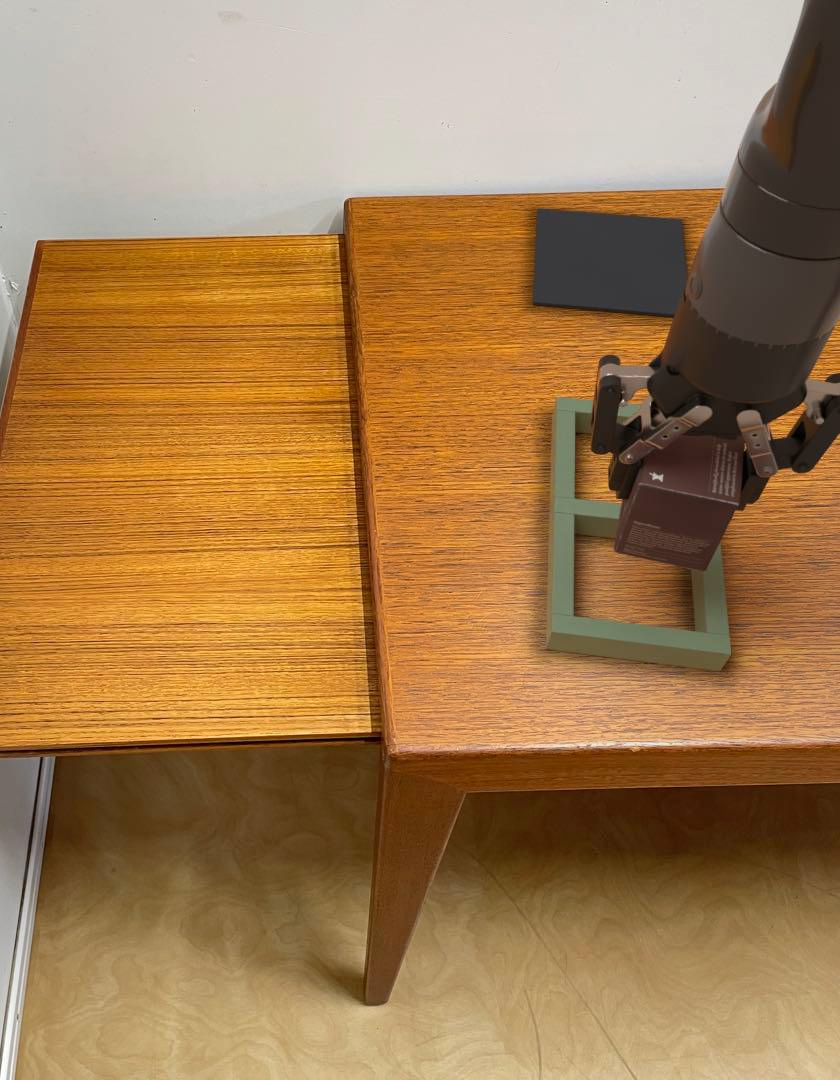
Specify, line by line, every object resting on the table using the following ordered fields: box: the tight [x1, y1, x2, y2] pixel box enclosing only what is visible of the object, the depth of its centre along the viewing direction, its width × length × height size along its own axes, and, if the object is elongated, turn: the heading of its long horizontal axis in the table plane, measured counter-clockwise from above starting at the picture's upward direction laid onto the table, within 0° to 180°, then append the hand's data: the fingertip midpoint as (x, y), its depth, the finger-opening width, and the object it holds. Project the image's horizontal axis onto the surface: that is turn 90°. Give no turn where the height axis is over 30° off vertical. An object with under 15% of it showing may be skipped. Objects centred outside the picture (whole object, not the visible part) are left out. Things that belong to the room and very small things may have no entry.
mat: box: [532, 208, 688, 318], centre depth 94 cm, size 14×14×1 cm
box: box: [613, 435, 746, 572], centre depth 64 cm, size 6×6×7 cm
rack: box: [545, 396, 732, 672], centre depth 75 cm, size 22×12×2 cm, turn 170°
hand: (677, 494), depth 64 cm, fingers closed on box, 6 cm apart
